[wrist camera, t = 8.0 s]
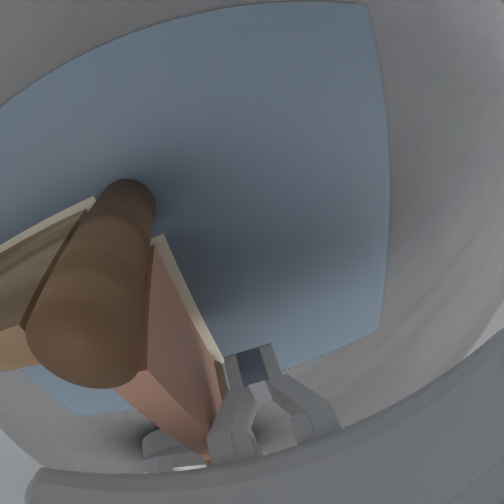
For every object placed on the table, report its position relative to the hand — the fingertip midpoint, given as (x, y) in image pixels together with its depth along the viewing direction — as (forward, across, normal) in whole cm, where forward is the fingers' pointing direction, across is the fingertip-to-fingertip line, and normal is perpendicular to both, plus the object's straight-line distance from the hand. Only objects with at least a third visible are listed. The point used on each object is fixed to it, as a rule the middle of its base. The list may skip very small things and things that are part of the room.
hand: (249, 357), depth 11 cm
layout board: (+3, +3, -3) cm, 5 cm away
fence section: (+2, +3, -1) cm, 3 cm away
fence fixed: (+3, +8, -7) cm, 11 cm away
